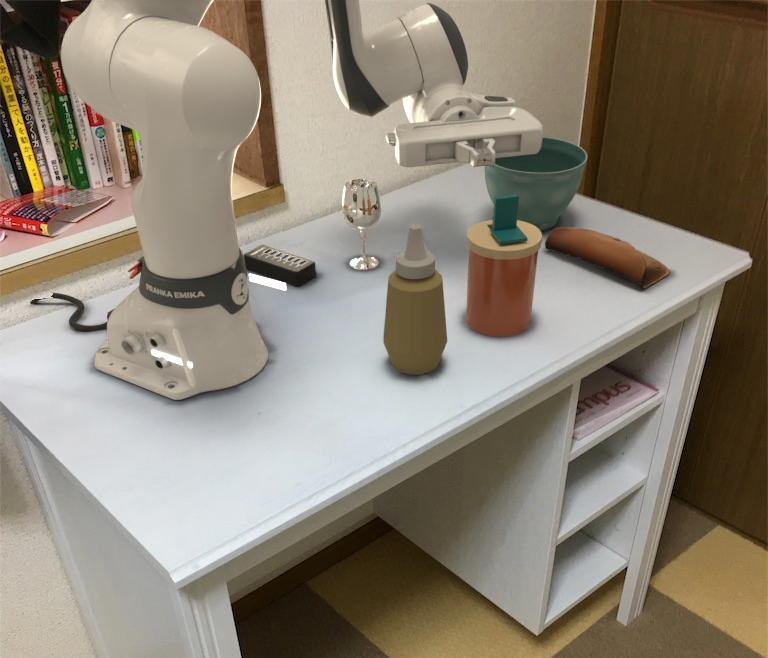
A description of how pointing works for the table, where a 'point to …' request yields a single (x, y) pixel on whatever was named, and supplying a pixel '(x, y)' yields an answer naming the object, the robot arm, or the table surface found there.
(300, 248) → the table surface
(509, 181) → the flower pot
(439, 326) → the squeeze bottle
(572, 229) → the sunglasses case
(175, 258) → the robot arm
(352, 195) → the wineglass
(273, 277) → the multiport hub
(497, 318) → the lidded orange canister
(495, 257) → the cup lid
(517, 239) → the teal l-shaped bracket
